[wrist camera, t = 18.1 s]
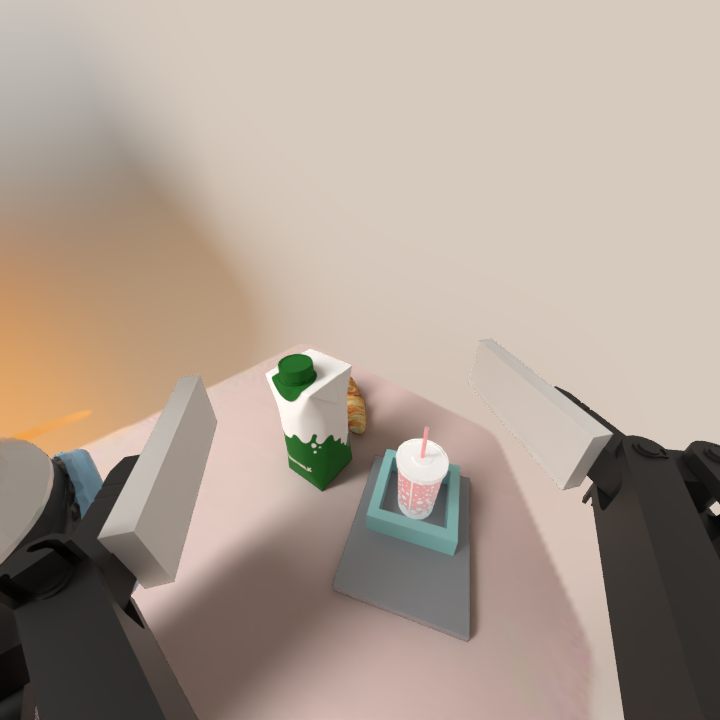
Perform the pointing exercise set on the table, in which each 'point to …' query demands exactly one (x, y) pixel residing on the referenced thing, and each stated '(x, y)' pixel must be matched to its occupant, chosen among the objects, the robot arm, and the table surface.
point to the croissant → (355, 409)
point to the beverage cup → (420, 475)
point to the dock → (411, 552)
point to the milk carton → (313, 413)
